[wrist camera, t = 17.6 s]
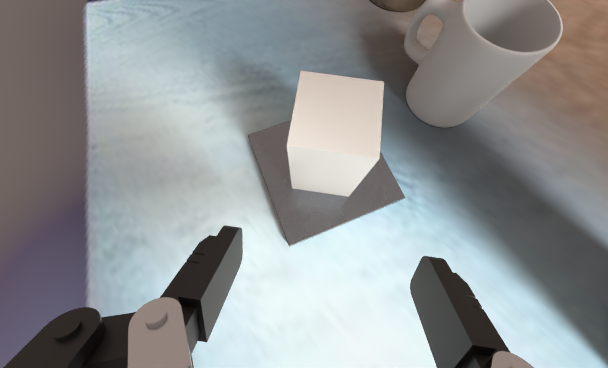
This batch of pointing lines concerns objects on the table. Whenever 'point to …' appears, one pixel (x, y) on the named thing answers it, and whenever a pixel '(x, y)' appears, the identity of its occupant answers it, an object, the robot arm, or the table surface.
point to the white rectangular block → (334, 132)
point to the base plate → (314, 205)
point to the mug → (475, 54)
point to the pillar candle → (399, 4)
